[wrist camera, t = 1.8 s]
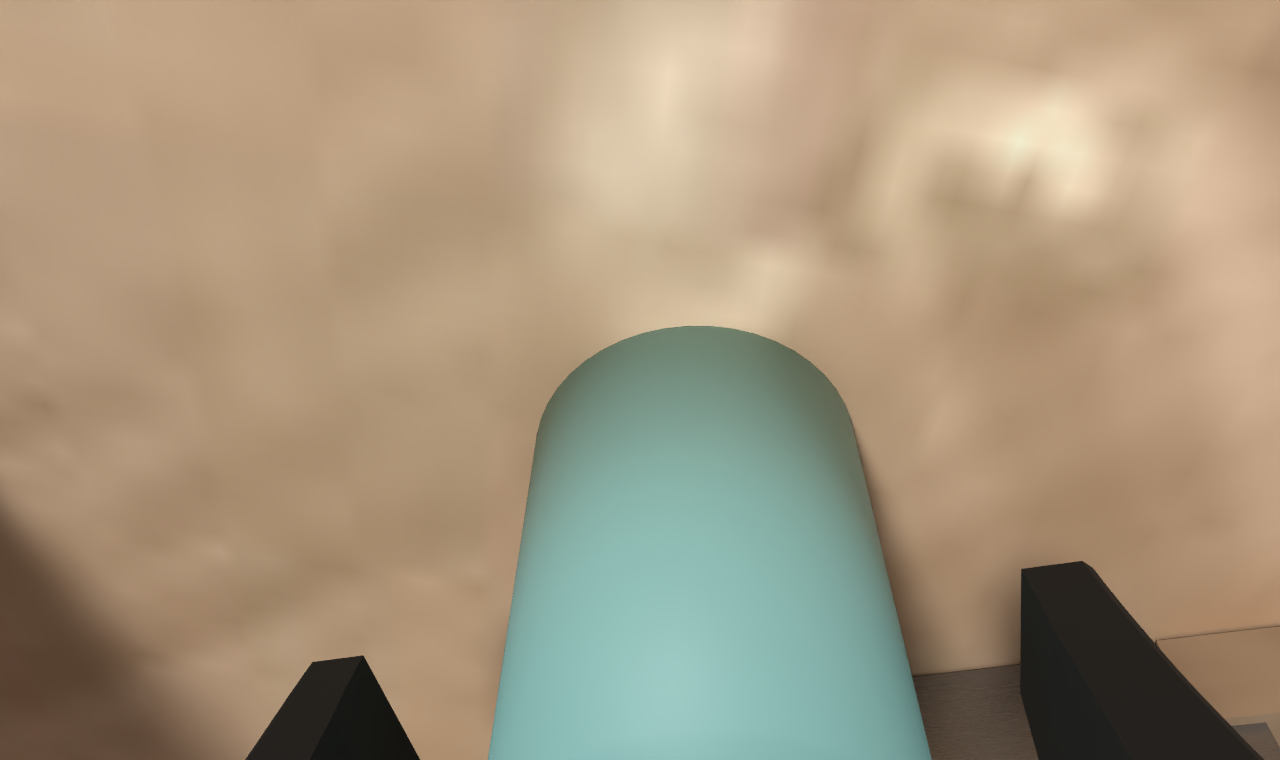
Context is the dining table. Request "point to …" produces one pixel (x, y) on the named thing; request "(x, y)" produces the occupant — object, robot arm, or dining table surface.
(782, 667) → the teal rounded capsule
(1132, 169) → the dining table surface
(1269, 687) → the shelf board
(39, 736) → the dining table surface
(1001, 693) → the hook bar
